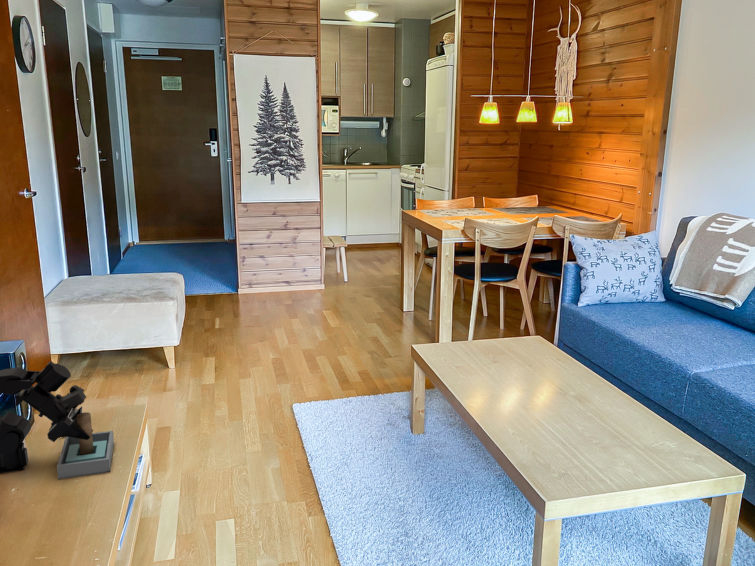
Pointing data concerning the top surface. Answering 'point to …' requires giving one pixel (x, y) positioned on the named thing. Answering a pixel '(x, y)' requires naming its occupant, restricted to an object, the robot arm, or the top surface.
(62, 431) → the robot arm
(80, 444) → the peg
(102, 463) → the rim box
